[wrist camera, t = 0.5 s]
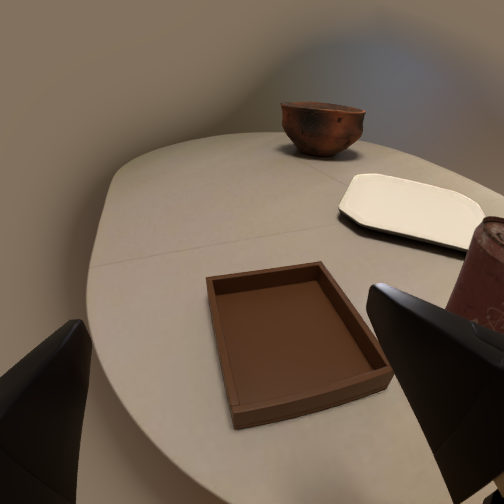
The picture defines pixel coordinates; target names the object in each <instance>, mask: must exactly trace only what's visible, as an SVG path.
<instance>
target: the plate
mask: <svg viewBox="0 0 504 504" xmlns="http://www.w3.org/2000/svg"><path fill="white" fill-rule="evenodd" d="M338 208H339V211H340V212H342V213H343V214H345V215H346V216H347V217H349V218H350V219H352V220H353V221H354V222H356V223H357V224H359V225H361V226H363V227H366V228H369V229H372V230H375V231H378V232H383V233H387V234H392V235H396V236H400V237H405V238H409V239H413V240H417V241H422V242H426V243H430V244H434V245H438V246H442V247H446V248H450V249H454V250H458V251H462V252H466V253H467V252H468V249H469V246H470V242H471V239H472V236H473V233H474V231H475V229H476V227H477V226H478V225H479V224H480V223H481V222H482V220H483V218H485V217H486V216H485V214H484V213H483V211H482V209H481V208H480V206H479V205H478V203H477V202H475V201H473V200H472V199H470V198H468V197H466V196H464V195H462V194H460V193H458V192H455V191H451V190H448V189H444V188H440V187H436V186H432V185H428V184H423V183H419V182H415V181H410V180H406V179H401V178H396V177H392V176H387V175H382V174H358V175H355V176H354V178H353V180H352V182H351V184H350V186H349V188H348V189H347V191H346V193H345V195H344V197H343V199H342V201H341V203H340V205H339V206H338Z"/></svg>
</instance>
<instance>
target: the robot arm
mask: <svg viewBox="0 0 504 504" xmlns="http://www.w3.org/2000/svg"><path fill="white" fill-rule="evenodd" d="M366 311H367V314H368V317H369V319H370V321H371V324H372V326H373V329H374V331H375V334H376V336H377V339H378V341H379V344H380V346H381V348H382V350H383V352H384V354H385V356H386V358H387V360H388V362H389V364H390V366H391V368H392V370H393V372H394V374H395V376H396V378H397V379H398V381H399V383H400V385H401V387H402V389H403V391H404V393H405V395H406V397H407V399H408V401H409V403H410V405H411V408H412V410H413V412H414V414H415V416H416V418H417V420H418V422H419V424H420V426H421V428H422V431H423V433H424V435H425V437H426V439H427V441H428V444H429V446H430V448H431V450H432V453H433V454H434V458H435V460H436V462H437V464H438V467H439V469H440V471H441V474H442V476H443V479H444V481H445V483H446V486H447V488H448V491H449V493H450V496H451V498H452V501H453V503H454V504H460V503H462V502H463V501H465V500H466V499H468V498H469V497H471V496H472V495H474V494H475V493H477V492H478V491H479V490H481V489H482V488H483V487H485V486H486V485H488V484H489V483H490V482H491V481H494V483H495V484H496V486H497V488H498V489H497V490H495V491H494V492H493V493H492V494H490V495H489V496H488V497H486V498H485V499H484V501H483V504H504V334H502V333H499V332H497V331H494V330H491V329H489V328H487V327H484V326H482V325H480V324H477V323H475V322H473V321H470V320H468V319H466V318H464V317H461V316H459V315H457V314H454V313H452V312H450V311H447V310H445V309H443V308H440V307H438V306H436V305H433V304H431V303H429V302H426V301H424V300H422V299H419V298H417V297H415V296H412V295H410V294H408V293H405V292H403V291H400V290H398V289H396V288H393V287H391V286H388V285H386V284H384V283H379V284H374V285H372V286H371V287H370V289H369V294H368V300H367V305H366ZM91 354H92V340H91V338H90V335H89V333H88V331H87V329H86V326H85V324H84V322H83V321H82V320H80V319H76V320H69V321H68V322H67V323H65V324H64V325H63V326H62V327H60V328H59V329H58V330H57V331H55V332H54V333H53V334H52V335H50V336H49V337H48V338H47V339H45V341H43V342H42V343H41V344H39V345H38V346H37V347H36V348H34V349H33V350H32V351H31V352H30V353H28V354H27V355H26V356H25V357H24V358H23V359H21V360H20V361H19V362H18V363H17V364H15V365H14V366H13V367H12V368H11V369H10V370H8V371H7V372H6V373H5V374H4V375H3V376H1V377H0V504H76V487H77V472H78V460H79V450H80V441H81V433H82V425H83V419H84V412H85V406H86V399H87V393H88V387H89V375H90V365H91Z"/></svg>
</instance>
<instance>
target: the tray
mask: <svg viewBox="0 0 504 504" xmlns="http://www.w3.org/2000/svg"><path fill="white" fill-rule="evenodd" d="M206 284H207V292H208V299H209V305H210V311H211V316H212V322H213V327H214V333H215V338H216V343H217V349H218V354H219V359H220V364H221V369H222V374H223V378H224V383H225V388H226V393H227V397H228V402H229V407H230V411H231V415H232V420H233V424H234V429H235V430H236V429H242V428H247V427H253V426H258V425H263V424H268V423H272V422H277V421H281V420H285V419H290V418H294V417H298V416H302V415H306V414H309V413H313V412H317V411H320V410H324V409H327V408H330V407H334V406H337V405H340V404H343V403H346V402H350V401H353V400H356V399H358V398H361V397H364V396H367V395H370V394H373V393H375V392H378V391H381V390H383V389H386V388H387V387H388V385H389V383H390V381H391V379H392V378H393V376H394V372H393V370H392V368H391V366H390V364H389V362H388V360H387V358H386V356H385V354H384V352H383V350H382V348H381V346H380V344H379V342H378V340H377V339H376V337H375V336H374V334H373V333H372V332H371V330H370V329H369V327H368V326H367V324H366V323H365V321H364V320H363V319H362V317H361V316H360V314H359V313H358V312H357V310H356V309H355V307H354V306H353V304H352V303H351V302H350V300H349V299H348V297H347V296H346V295H345V293H344V292H343V290H342V289H341V288H340V286H339V285H338V284H337V282H336V281H335V279H334V278H333V277H332V275H331V274H330V273H329V271H328V270H327V269H326V267H325V266H324V265H323V263H322V262H321V261H320V262H313V263H306V264H299V265H292V266H285V267H278V268H271V269H264V270H257V271H249V272H242V273H235V274H227V275H220V276H212V277H206Z"/></svg>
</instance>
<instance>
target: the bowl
mask: <svg viewBox="0 0 504 504" xmlns="http://www.w3.org/2000/svg"><path fill="white" fill-rule="evenodd" d="M281 106H282V112H283V120H282V126H283V129H284V131H285V133H286V134H287V136H288V137H289V138H290V139H291V141H292V142H293V143H294V144H295V146H296V147H297V149H298V151H300V152H302V153H306V154H311V155H321V156H332V155H335V154H337V153H339V152H341V151H343V150H345V149H346V148H348V147H349V146H350V145H352V144H353V143H355V142H356V141H357V140H358V139H359V138H360V137H361V135H362V132H363V120H364V115H365V113H366V111H363V110H360V109H356V108H352V107H346V106H342V105H335V104H327V103H318V102H296V103H281Z"/></svg>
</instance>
